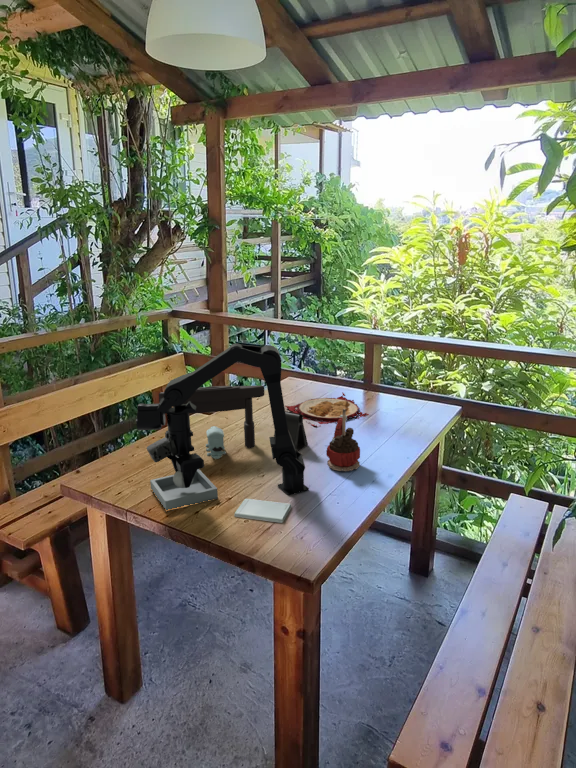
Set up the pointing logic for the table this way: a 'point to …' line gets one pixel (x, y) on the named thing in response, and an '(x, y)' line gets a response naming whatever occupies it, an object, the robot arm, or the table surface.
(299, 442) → the phone stand
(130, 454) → the table surface
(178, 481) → the garlic
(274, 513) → the hard drive
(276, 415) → the robot arm
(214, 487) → the tray
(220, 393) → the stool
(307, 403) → the plate with food
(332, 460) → the cake
